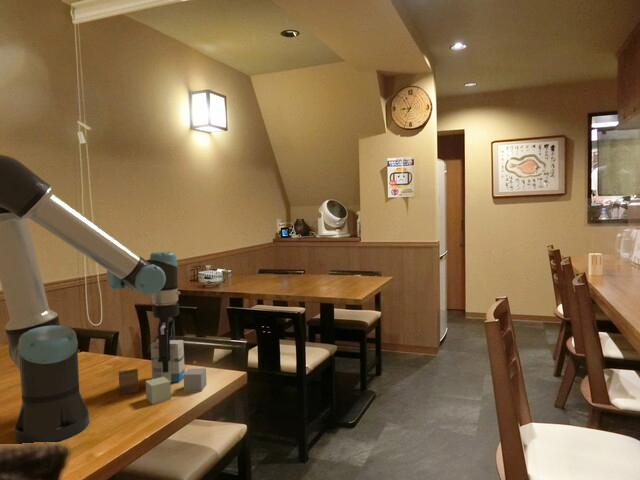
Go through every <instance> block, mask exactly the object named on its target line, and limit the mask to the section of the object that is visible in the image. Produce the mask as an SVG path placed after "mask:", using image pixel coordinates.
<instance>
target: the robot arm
mask: <svg viewBox="0 0 640 480" xmlns="http://www.w3.org/2000/svg"><path fill="white" fill-rule="evenodd" d="M28 219H30V220H31V221H33V222H34V223H36V224H38V225H39V226H40V227H42V228H44V229H45V230H47V231H48V232H50V233H51V234H53V235H54V236H55V237H57V238H59V239H60V240H61V241H63V242H64V243H65V244H67V245H69V246H70V247H71V248H74V249H75V250H76V251H78V252H79V253H81V254H82V255H84V256H86V257H87V258H88V259H90V260H91V261H93V262H95V263H96V264H98V265H99V266H101V267H102V268H103V269H105V270H106V280H107V285H108V287H109V288H110V289H111V290H123V289H130V290H134V291H136V292H137V291H138V292H140V293H141V294H144V295H145V294H146V295H148V294H149V295H151V302H152V304H153V305H152V316H153V317H154V318H156V319H160V321H159V323H158V327H157V335H158V340H159V360H158V362H161V377H165V378H166V379H168V380H169V381H170V383H173V382H172V377H171V360H170V340H176V331H175V317H177V316H179V314H180V303H178V301H179V295H181V291H179V286H178V283H179V282H178V281H179V280H178V259H177V254H176V252H173V251H156V252H151V253H150V255H149V259H145V258H143V257H142V256H140V255H139V254H138V253H136V252H135V251H134V250H132V249H131V248H129V247H128V246H127V245H125V244H124V243H123V242H122V241H120V240H119V239H117V238H115V236H113V235H111V234H110V233H108V231H106V230H105V229H103V228H102V227H101V226H99V225H98V224H96V223H95V222H93V221H92V220H91V219H90V218H88V217H86V216H85V215H84V214H83V213H81V212H80V211H79V210H77V209H75V207H73V206H71V205H70V204H68V202H66V201H65V200H63V199H62V198H60V197H59V196H58V195H56V194H55V193H54V192H53V188H52V185H51V184H49V183H48V182H46V181H45V180H44V179H42V178H41V177H40V176H39V175H38V174H36V173H35V172H34V171H32V170H31V169H30V168H29V167H27V166H26V165H25V164H24V163H22V162H21V161H20V160H18V159H16V158H15V157H11V156H8V155H5V154H0V285H1V289H2V292H3V297H4V301H5V304H6V308H7V312H8V317H9V321H8V322H7V323H6V325H5V326H4V329H5V334H6V338H7V341H8V353H9V356H10V358H11V361H12V362H13V363H14V364H15V365H16V367H17V368H18V370H19V374H20V375H19V377H20V387H21V388H20V393H21V406H20V409H19V412H18V416H17V418H16V422H15V426H14V440H15V442H17V443H18V444H21V443H34V442H51V443H55V442H58V441H62V440H65V439H68V438H71V437H72V436H74V435H77V434H78V433H80V432H82V431H84V430H85V429H86V428H87V427H88V425H89V423H90V413H89V409H88V406H87V405H86V403H85V400H84V398H83V397H82V394H81V392H80V391H81V390H80V376H79V375H80V373H79V356H78V355H79V354H78V353H79V351H78V347H79V341H78V338H77V333H76V331H75V330H74V329H73V328H71V327H70V326H66V325H65V326H62V325H61V322H60V319H59V314H58V312H56V311H54V310H51V309H50V306H49V303H48V298H47V294H46V290H45V286H44V283H43V279H42V273H41V270H40V266H39V262H38V258H37V253H36V250H35V246H34V242H33V241H34V240H33V238H32V233H31V230H30V227H29V222H28Z"/></svg>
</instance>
